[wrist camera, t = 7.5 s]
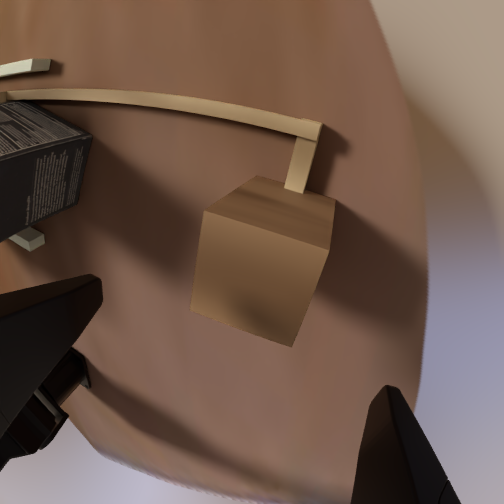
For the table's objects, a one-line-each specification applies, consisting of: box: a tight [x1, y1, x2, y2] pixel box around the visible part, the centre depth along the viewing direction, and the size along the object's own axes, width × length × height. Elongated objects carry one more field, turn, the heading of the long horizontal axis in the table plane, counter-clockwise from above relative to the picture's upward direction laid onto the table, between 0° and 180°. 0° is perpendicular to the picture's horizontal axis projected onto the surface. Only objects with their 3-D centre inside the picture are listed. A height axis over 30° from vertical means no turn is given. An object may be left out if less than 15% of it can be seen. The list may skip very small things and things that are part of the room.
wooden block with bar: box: [0, 88, 336, 347], centre depth 16 cm, size 12×29×7 cm, turn 78°
